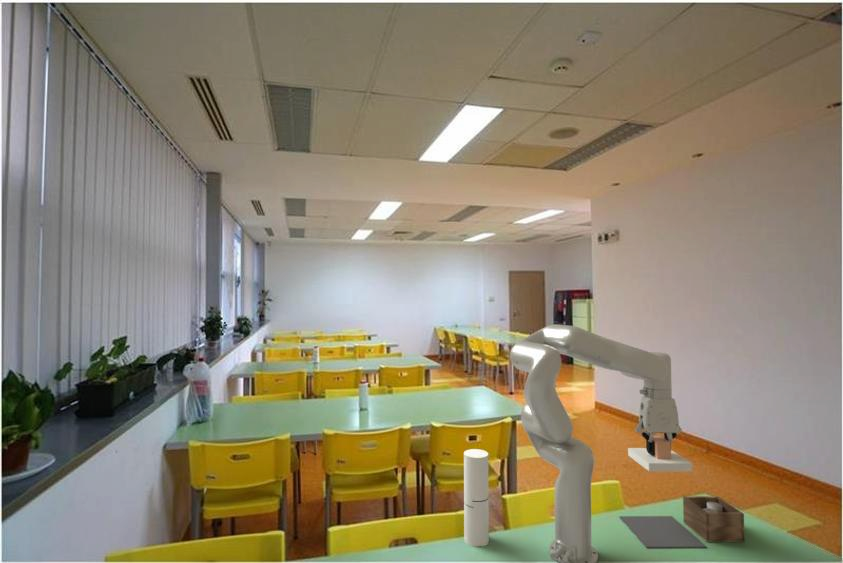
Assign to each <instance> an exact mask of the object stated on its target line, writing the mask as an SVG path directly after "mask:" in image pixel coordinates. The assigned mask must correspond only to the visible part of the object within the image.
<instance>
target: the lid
mask: <svg viewBox="0 0 843 563" xmlns="http://www.w3.org/2000/svg"><path fill="white" fill-rule="evenodd" d="M653 442H654V444H655V455H654V456H652V455H651V454H649V453H648V452H647V450H646V447H628V448H627V454H628V457H630V458H631V459H632V460H634V461H635V462H636V463H637V464H639V465H640V466H642V468H643V469H645V470H647V471H648V472H693V462H692V461H690V460H688V459H687V458H684V457H683V456H681V455H679V453H676V452H675V451H674V450H672V442H670V441H668V440H666V439H665V438H664V436H661V435H655V434H654V437H653Z"/></svg>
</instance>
